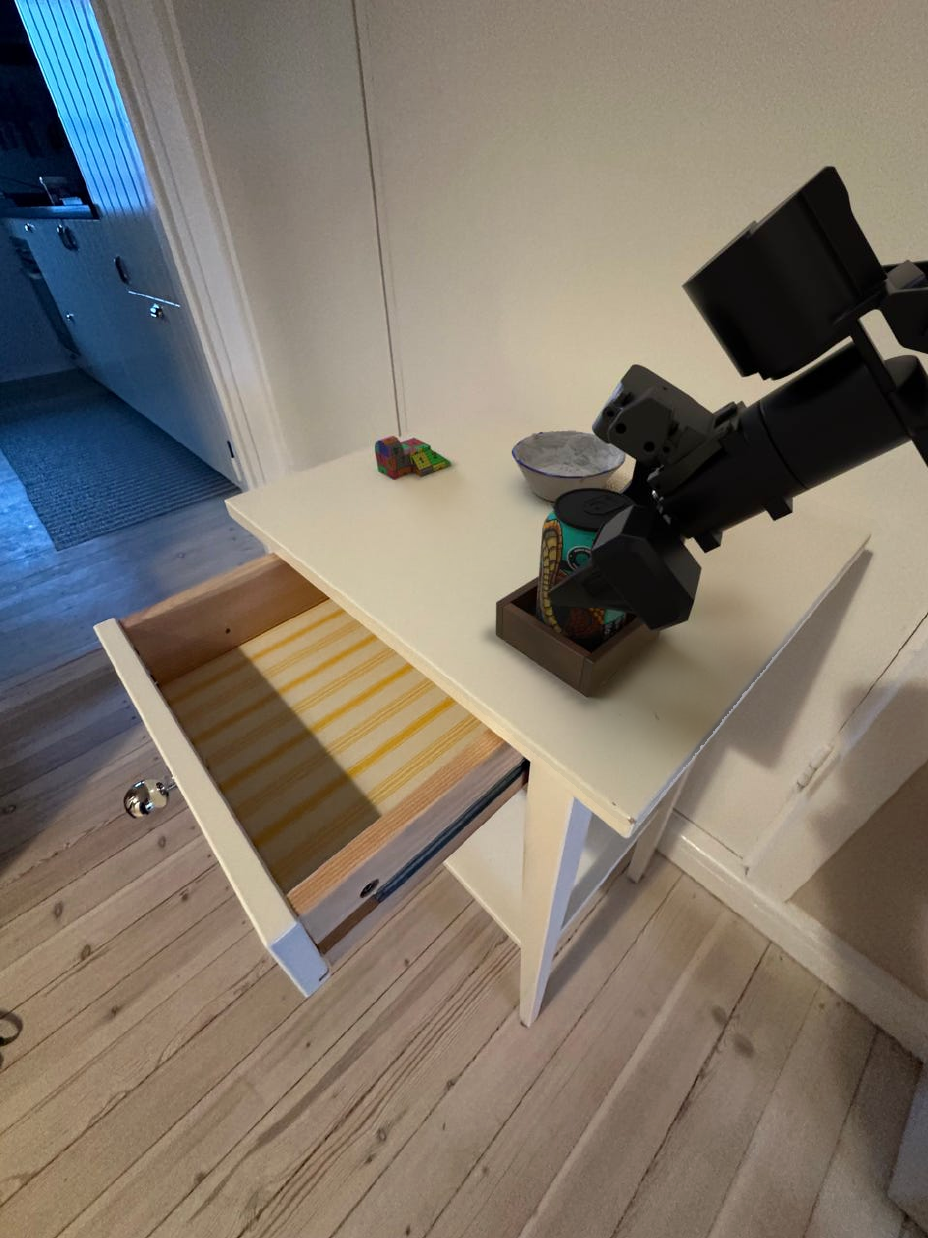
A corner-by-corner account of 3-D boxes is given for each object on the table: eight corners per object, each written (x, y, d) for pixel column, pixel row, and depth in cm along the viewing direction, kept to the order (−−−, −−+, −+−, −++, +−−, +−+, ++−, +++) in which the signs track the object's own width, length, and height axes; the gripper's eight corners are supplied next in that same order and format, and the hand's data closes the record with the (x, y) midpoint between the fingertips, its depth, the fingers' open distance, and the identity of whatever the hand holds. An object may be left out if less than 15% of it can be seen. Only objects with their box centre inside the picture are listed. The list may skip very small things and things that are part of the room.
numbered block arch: (401, 483, 66) (397, 448, 63) (377, 470, 69) (373, 436, 66) (450, 465, 70) (449, 431, 67) (426, 453, 73) (423, 420, 70)
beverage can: (517, 629, 45) (523, 501, 37) (578, 598, 48) (595, 474, 40) (575, 678, 40) (596, 545, 32) (638, 641, 43) (671, 511, 35)
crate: (659, 636, 44) (668, 603, 41) (587, 697, 39) (593, 664, 37) (568, 586, 49) (572, 555, 47) (495, 634, 44) (495, 602, 42)
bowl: (489, 492, 64) (490, 454, 61) (547, 457, 71) (549, 421, 68) (584, 525, 57) (590, 484, 54) (636, 482, 65) (644, 444, 62)
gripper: (720, 289, 34) (543, 435, 45) (677, 370, 21) (443, 546, 32) (809, 429, 36) (621, 534, 47) (819, 577, 23) (557, 674, 34)
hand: (569, 564), depth 40 cm, fingers open, 9 cm apart
